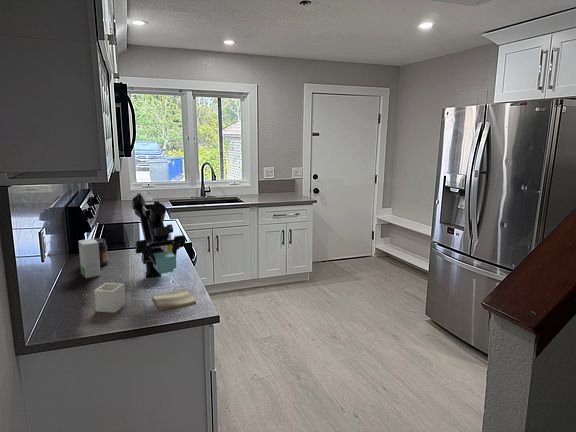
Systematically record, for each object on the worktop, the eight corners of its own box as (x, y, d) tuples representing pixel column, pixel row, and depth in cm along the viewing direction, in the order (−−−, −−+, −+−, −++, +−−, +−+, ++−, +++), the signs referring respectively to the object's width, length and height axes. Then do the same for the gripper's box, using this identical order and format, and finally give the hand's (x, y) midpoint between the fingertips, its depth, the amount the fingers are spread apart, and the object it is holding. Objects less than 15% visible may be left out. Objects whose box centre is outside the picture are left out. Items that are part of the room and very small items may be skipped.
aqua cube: (153, 269, 153) (152, 253, 151) (172, 266, 156) (171, 250, 155) (157, 275, 147) (156, 258, 145) (176, 271, 150) (175, 255, 149)
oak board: (152, 298, 150) (152, 295, 149) (185, 291, 156) (185, 289, 156) (161, 311, 139) (160, 308, 139) (196, 303, 145) (196, 300, 145)
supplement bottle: (176, 256, 201) (174, 232, 198) (172, 260, 194) (171, 235, 192) (163, 256, 200) (161, 232, 198) (159, 260, 194) (157, 235, 191)
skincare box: (81, 273, 175) (77, 240, 172) (96, 270, 179) (93, 237, 176) (86, 278, 169) (82, 244, 166) (102, 275, 173) (98, 241, 170)
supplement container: (112, 261, 192) (110, 237, 190) (102, 268, 182) (99, 243, 180) (91, 260, 193) (88, 237, 190) (80, 268, 182) (77, 243, 180)
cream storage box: (107, 302, 145) (105, 282, 144) (125, 303, 145) (124, 283, 143) (96, 311, 138) (94, 290, 137) (115, 312, 138) (113, 291, 136)
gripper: (134, 220, 146) (141, 256, 139) (183, 215, 155) (192, 249, 148) (132, 235, 154) (139, 270, 147) (179, 230, 163) (187, 262, 156)
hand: (165, 262), depth 150 cm, fingers closed on aqua cube, 7 cm apart
